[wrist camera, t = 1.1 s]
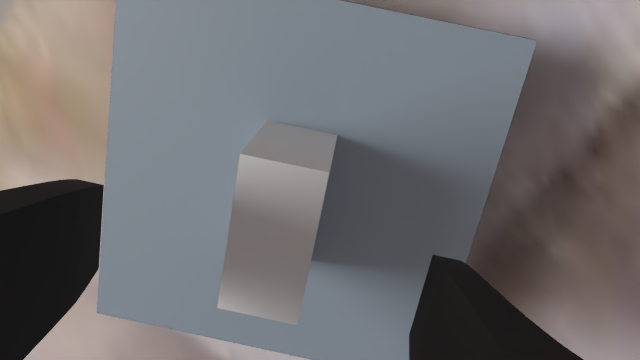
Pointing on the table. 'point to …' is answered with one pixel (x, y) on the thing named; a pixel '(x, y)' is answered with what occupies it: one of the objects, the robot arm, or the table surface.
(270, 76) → the lid
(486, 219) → the table surface
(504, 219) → the table surface
